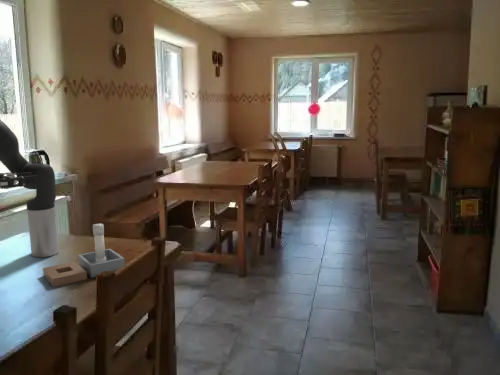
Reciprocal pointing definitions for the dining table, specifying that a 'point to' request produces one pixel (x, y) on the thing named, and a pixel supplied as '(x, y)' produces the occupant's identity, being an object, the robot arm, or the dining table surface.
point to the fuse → (99, 242)
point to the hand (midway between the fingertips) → (34, 177)
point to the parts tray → (93, 268)
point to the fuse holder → (64, 274)
